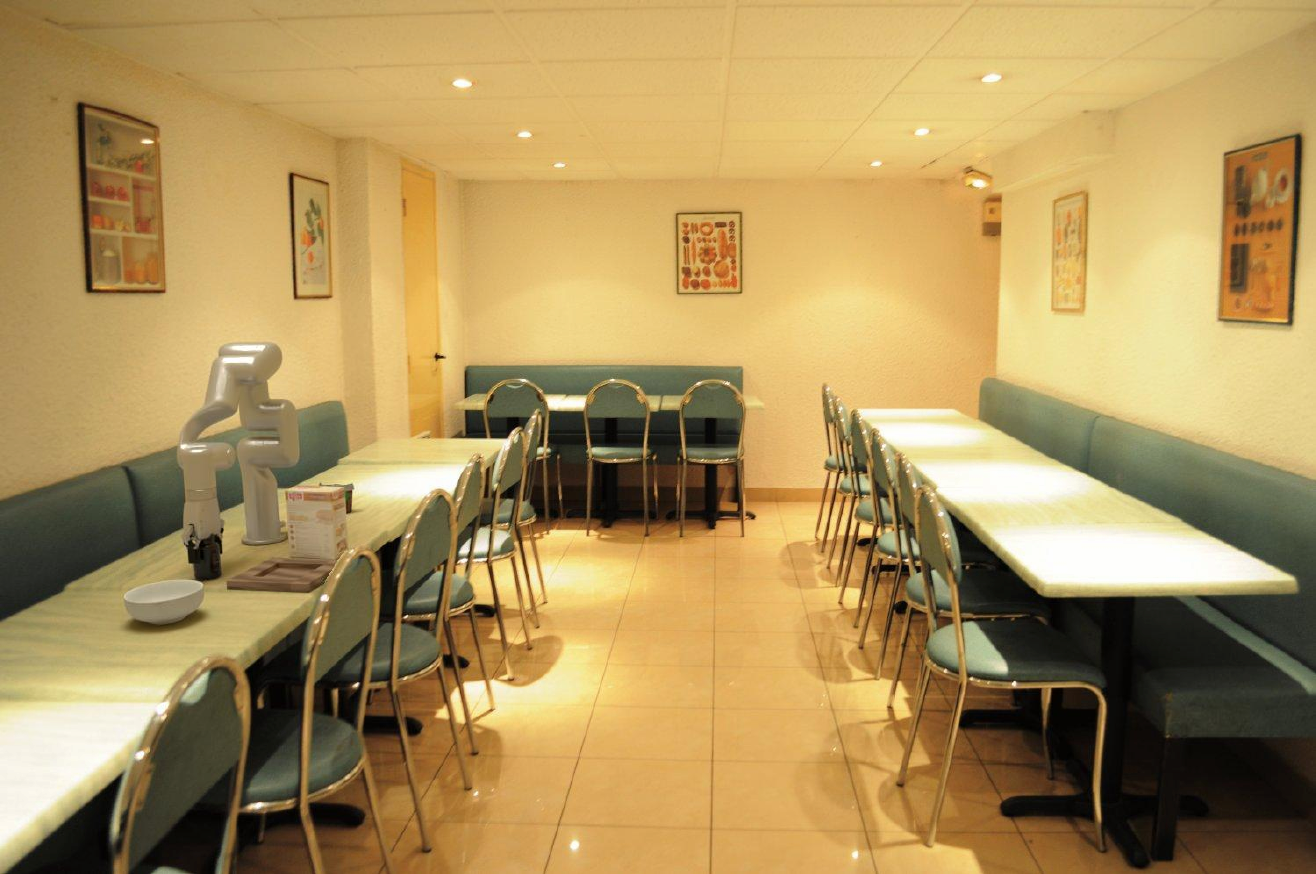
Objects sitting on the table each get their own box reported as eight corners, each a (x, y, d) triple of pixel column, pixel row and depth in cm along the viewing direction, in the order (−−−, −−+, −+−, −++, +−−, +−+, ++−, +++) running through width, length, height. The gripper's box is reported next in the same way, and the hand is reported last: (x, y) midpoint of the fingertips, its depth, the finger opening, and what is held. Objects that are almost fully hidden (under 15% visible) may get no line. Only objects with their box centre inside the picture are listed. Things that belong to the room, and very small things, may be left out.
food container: (312, 515, 341) (310, 485, 340) (321, 511, 347) (319, 482, 346) (347, 516, 339) (345, 486, 338) (355, 512, 345) (354, 483, 344)
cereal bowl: (150, 607, 248) (147, 579, 247) (218, 607, 247) (216, 578, 246) (111, 631, 231) (108, 601, 230) (184, 631, 230) (181, 601, 229)
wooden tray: (272, 565, 283) (272, 557, 282) (348, 568, 279) (347, 560, 279) (227, 589, 261) (226, 580, 261) (308, 592, 258) (307, 584, 257)
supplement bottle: (216, 572, 277) (212, 528, 275) (226, 577, 272) (222, 533, 270) (189, 577, 272) (186, 533, 270) (199, 582, 267) (196, 537, 265)
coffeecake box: (349, 553, 294) (345, 486, 291) (335, 560, 287) (331, 491, 284) (303, 550, 298) (299, 484, 295) (288, 557, 291) (284, 489, 288)
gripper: (207, 488, 277) (212, 550, 280) (167, 501, 260) (172, 567, 263) (233, 488, 276) (237, 551, 279) (194, 501, 259) (199, 568, 262)
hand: (205, 558), depth 271 cm, fingers open, 9 cm apart
